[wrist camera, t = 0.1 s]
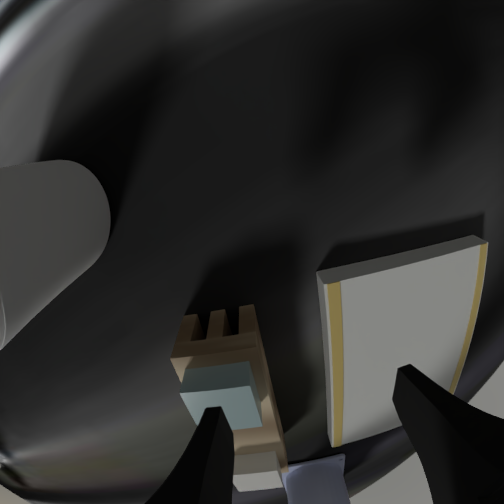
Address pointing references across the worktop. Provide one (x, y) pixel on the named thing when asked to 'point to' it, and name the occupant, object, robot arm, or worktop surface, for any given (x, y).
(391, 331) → the dock
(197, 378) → the block
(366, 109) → the worktop surface
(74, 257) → the pill bottle
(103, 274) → the worktop surface
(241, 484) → the crate
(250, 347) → the tan notched block
